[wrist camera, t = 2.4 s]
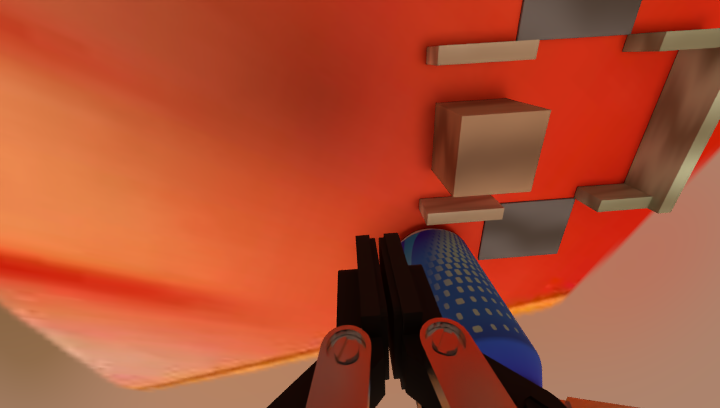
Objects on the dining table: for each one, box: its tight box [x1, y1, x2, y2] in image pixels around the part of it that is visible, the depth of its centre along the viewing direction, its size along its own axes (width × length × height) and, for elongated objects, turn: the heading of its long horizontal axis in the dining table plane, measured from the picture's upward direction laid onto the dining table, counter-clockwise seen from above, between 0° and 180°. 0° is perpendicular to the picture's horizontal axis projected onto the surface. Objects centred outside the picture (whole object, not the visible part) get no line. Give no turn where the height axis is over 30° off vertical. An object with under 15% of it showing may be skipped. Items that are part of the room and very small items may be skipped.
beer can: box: [401, 228, 542, 387], centre depth 24 cm, size 8×8×16 cm
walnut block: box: [431, 98, 551, 197], centre depth 23 cm, size 6×6×6 cm
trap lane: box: [419, 0, 720, 260], centre depth 24 cm, size 28×22×4 cm
